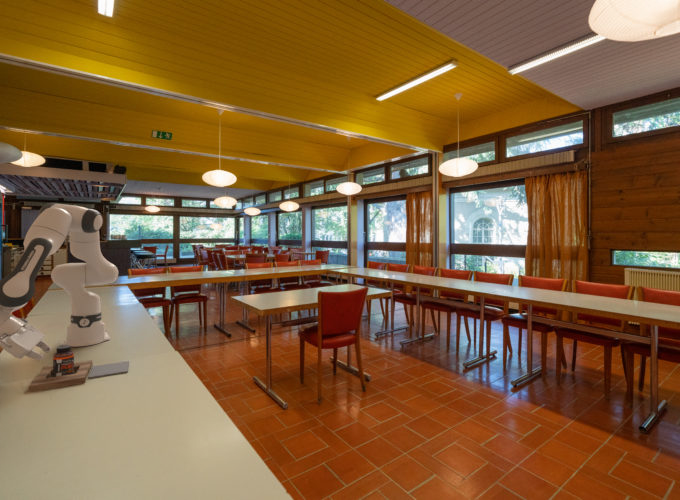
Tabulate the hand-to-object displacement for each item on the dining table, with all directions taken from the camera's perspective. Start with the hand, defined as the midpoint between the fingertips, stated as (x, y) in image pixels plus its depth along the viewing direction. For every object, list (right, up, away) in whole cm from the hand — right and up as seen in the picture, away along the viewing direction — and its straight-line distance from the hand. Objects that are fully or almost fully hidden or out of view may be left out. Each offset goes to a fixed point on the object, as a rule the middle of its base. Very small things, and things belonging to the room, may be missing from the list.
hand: (46, 354), depth 117 cm
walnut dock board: (+4, -9, +3) cm, 10 cm away
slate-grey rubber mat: (+16, -9, +10) cm, 21 cm away
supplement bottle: (+4, -9, +3) cm, 10 cm away
